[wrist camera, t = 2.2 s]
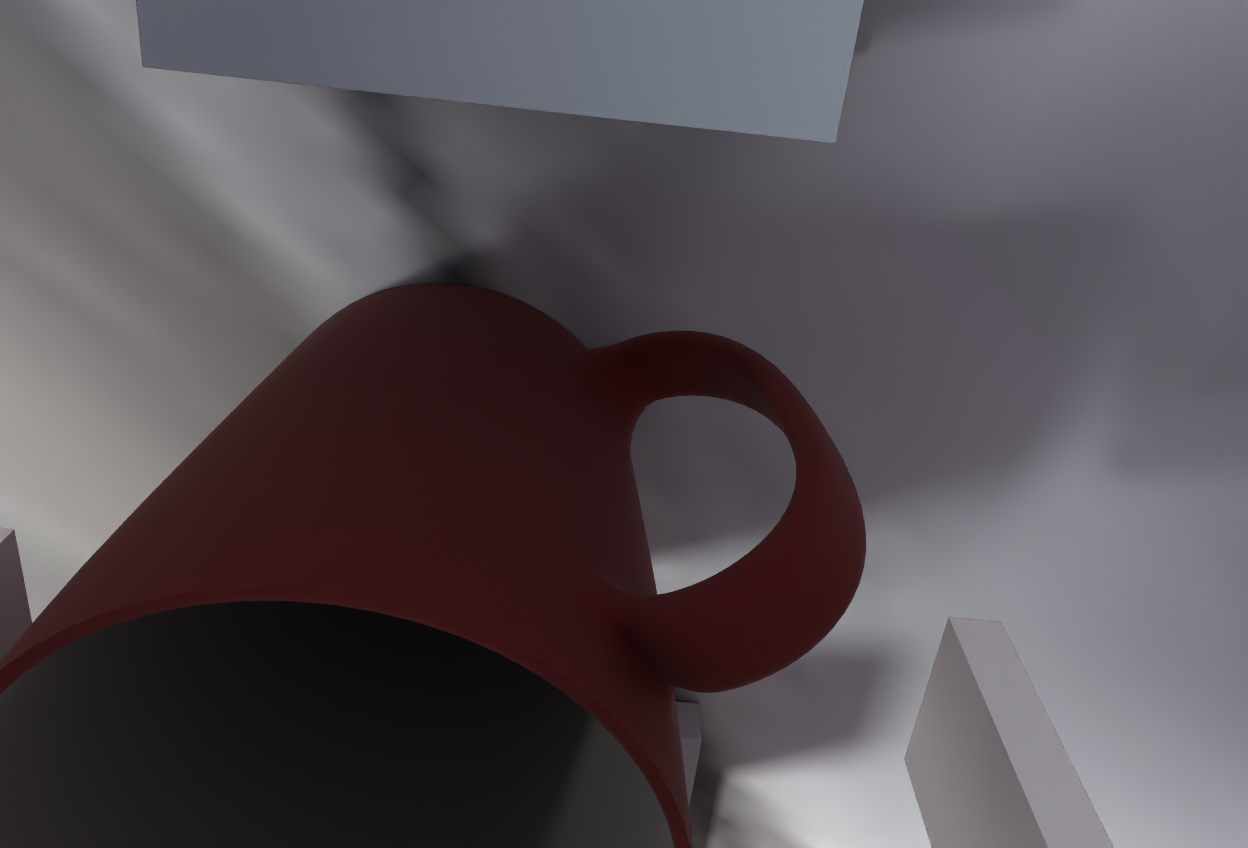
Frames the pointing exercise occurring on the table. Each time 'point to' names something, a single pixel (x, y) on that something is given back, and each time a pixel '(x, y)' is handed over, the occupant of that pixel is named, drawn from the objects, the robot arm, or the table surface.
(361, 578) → the mug
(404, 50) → the vise
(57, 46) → the table surface
